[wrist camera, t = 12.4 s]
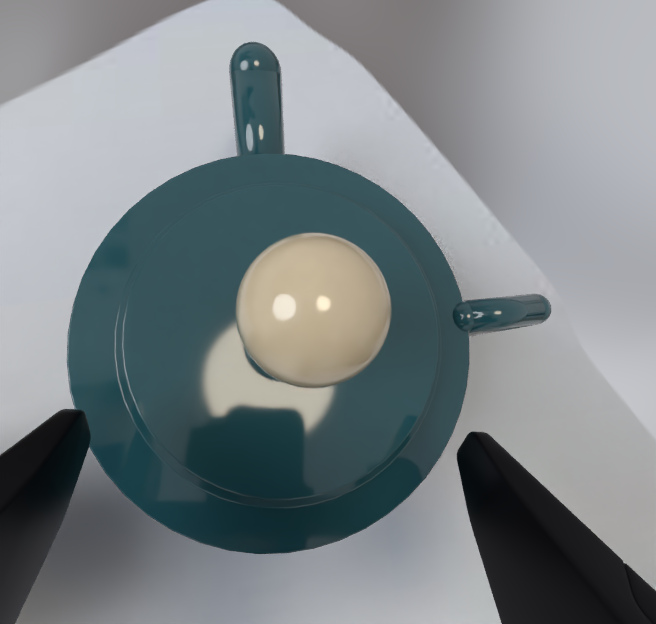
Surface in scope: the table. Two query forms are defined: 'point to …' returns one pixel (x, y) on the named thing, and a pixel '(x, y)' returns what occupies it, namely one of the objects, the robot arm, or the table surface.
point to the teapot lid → (280, 342)
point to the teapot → (107, 362)
